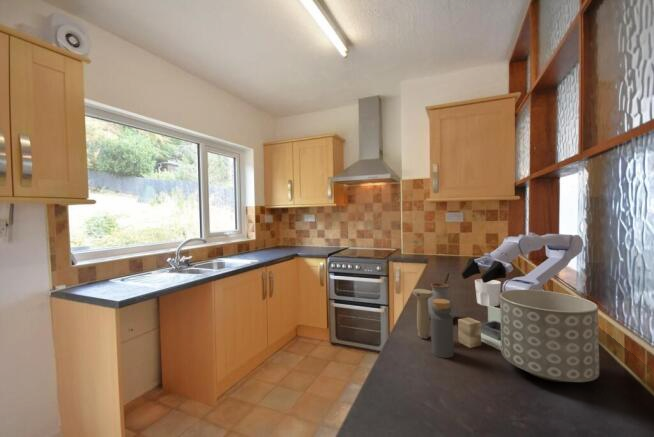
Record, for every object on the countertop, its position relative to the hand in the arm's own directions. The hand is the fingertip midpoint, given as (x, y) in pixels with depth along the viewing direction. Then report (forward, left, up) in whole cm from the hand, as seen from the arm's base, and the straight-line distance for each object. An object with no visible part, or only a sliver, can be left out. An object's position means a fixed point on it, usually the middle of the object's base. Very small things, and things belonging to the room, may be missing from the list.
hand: (472, 277), depth 91 cm
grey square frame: (-8, +2, -18) cm, 20 cm away
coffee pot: (-7, -21, -20) cm, 30 cm away
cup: (-34, -25, -20) cm, 46 cm away
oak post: (+4, +2, -19) cm, 20 cm away
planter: (-1, +21, -20) cm, 29 cm away
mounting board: (-7, +2, -19) cm, 21 cm away
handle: (+14, -7, -19) cm, 25 cm away
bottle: (+16, +4, -19) cm, 26 cm away
